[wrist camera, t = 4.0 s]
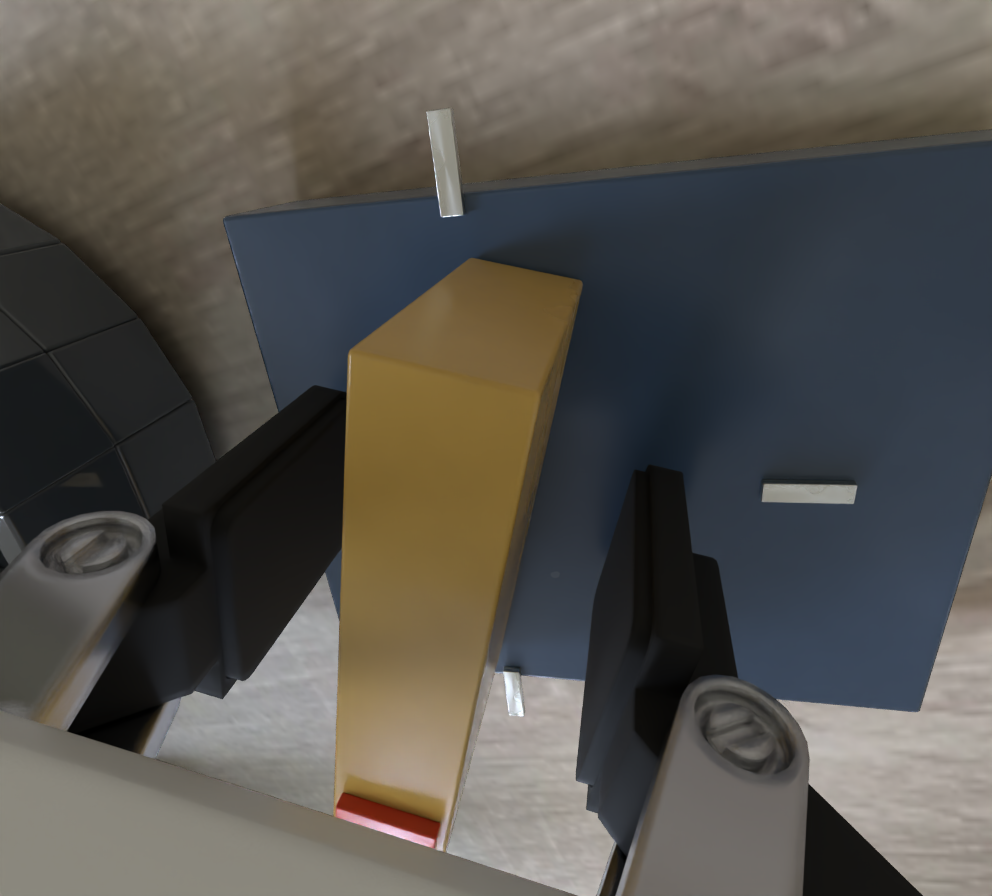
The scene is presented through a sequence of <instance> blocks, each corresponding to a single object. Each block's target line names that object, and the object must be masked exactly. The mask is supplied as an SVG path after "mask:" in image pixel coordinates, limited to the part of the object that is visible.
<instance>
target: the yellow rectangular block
mask: <svg viewBox="0 0 992 896" xmlns="http://www.w3.org/2000/svg"><path fill="white" fill-rule="evenodd" d="M582 287H583V283H582V281H580V280H577V279H572V278H568V277H563V276H558V275H553V274H548V273H543V272H539V271H534V270H529V269H524V268H519V267H514V266H509V265H505V264H500V263H495V262H490V261H485V260H480V259H476V258H469V259H468V260H467V261H465V262H464V263H463V264H462V265H460V266H459V267H458V268H456V269H455V270H454V271H452V272H451V273H450V274H448V275H447V276H446V277H444V278H443V279H442V280H441V281H439V282H438V283H437V284H435V285H434V286H433V287H431V288H430V289H429V290H427V291H426V292H425V293H423V294H422V295H421V296H420V297H418V298H417V299H416V300H414V301H413V302H412V303H410V304H409V305H408V306H406V307H405V308H404V309H402V310H401V311H400V312H399V313H397V314H396V315H395V316H393V317H392V318H391V319H389V320H388V321H387V322H385V323H384V324H383V325H381V326H380V327H379V328H378V329H376V330H375V331H374V332H372V333H371V334H370V335H368V336H367V337H366V338H364V339H363V340H362V341H360V342H359V343H358V344H357V345H355V346H354V347H353V348H351V349H350V351H349V353H348V370H347V402H346V433H345V465H344V497H343V528H342V560H341V592H340V624H339V655H338V687H337V719H336V750H335V782H334V814H333V816H334V817H337V818H340V819H343V820H346V821H349V822H353V823H356V824H359V825H362V826H365V827H368V828H371V829H374V830H377V831H381V832H384V833H387V834H390V835H393V836H396V837H399V838H402V839H405V840H408V841H412V842H415V843H418V844H421V845H424V846H427V847H430V848H433V849H436V850H439V851H442V852H445V853H446V852H447V848H448V845H449V841H450V837H451V834H452V830H453V826H454V822H455V819H456V815H457V811H458V808H459V804H460V800H461V796H462V793H463V789H464V785H465V782H466V778H467V774H468V770H469V767H470V763H471V759H472V756H473V752H474V748H475V744H476V741H477V737H478V733H479V729H480V726H481V722H482V718H483V715H484V711H485V707H486V703H487V700H488V696H489V692H490V689H491V685H492V681H493V677H494V674H495V670H496V666H497V663H498V659H499V655H500V651H501V648H502V643H503V639H504V634H505V630H506V625H507V621H508V617H509V612H510V608H511V603H512V599H513V594H514V590H515V585H516V581H517V576H518V572H519V567H520V563H521V559H522V554H523V550H524V545H525V541H526V536H527V532H528V527H529V523H530V518H531V514H532V510H533V505H534V501H535V496H536V492H537V487H538V483H539V478H540V474H541V469H542V465H543V461H544V456H545V452H546V447H547V443H548V438H549V434H550V429H551V425H552V420H553V416H554V411H555V407H556V403H557V398H558V394H559V389H560V385H561V380H562V376H563V371H564V367H565V362H566V358H567V354H568V349H569V345H570V340H571V336H572V331H573V327H574V322H575V318H576V313H577V309H578V305H579V300H580V296H581V291H582Z"/></svg>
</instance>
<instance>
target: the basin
mask: <svg viewBox="0 0 992 896" xmlns="http://www.w3.org/2000/svg"><path fill="white" fill-rule="evenodd" d="M191 399H192V395H191V394H190V392H189V391H188V389H187V388H186V386H185V385H184V383H183V382H182V380H181V379H180V377H179V376H178V374H177V373H176V371H175V369H174V368H173V366H172V365H171V363H170V362H169V360H168V359H167V357H166V356H165V354H164V353H163V351H162V350H161V348H160V347H159V345H158V344H157V342H156V341H155V339H154V338H153V336H152V335H151V333H150V332H149V330H148V329H147V327H146V326H145V324H144V323H143V321H142V320H141V319H140V318H137V314H136V313H135V312H134V311H133V310H132V309H131V308H130V307H129V306H128V305H127V304H126V303H125V302H124V301H123V300H122V299H121V298H120V297H119V296H118V295H117V294H116V293H115V292H114V291H113V290H112V289H111V288H110V287H109V286H108V285H107V284H106V283H105V282H104V281H103V280H101V279H100V278H99V277H98V276H97V275H96V274H95V273H94V272H93V271H92V270H91V269H90V268H89V267H88V266H87V265H86V264H85V263H84V262H83V261H82V260H81V259H80V258H79V257H78V256H77V255H76V254H75V253H74V252H73V251H72V250H71V249H70V248H69V247H68V246H67V245H65V244H63V243H61V241H60V240H59V239H57V238H56V237H54V236H52V235H51V234H49V233H48V232H46V231H44V230H43V229H41V228H39V227H38V226H36V225H34V224H33V223H31V222H30V221H28V220H26V219H25V218H23V217H21V216H20V215H18V214H16V213H15V212H13V211H12V210H10V209H8V208H7V207H5V206H3V205H2V204H0V570H4V569H5V568H6V567H7V566H8V565H9V564H10V563H11V562H12V561H13V560H14V559H15V558H16V557H17V555H18V554H19V553H20V552H21V551H22V550H23V549H24V548H25V547H26V546H27V545H28V544H29V543H30V542H31V541H32V540H33V539H34V538H35V537H36V536H38V535H39V534H40V533H41V532H43V531H44V530H45V529H47V528H49V527H51V526H53V525H55V524H57V523H58V522H60V521H62V520H65V519H68V518H72V517H75V516H78V515H81V514H86V513H92V512H99V511H123V512H128V513H133V514H137V515H139V516H141V517H143V518H145V519H147V520H148V519H149V518H151V517H152V516H153V515H154V514H156V513H157V512H158V511H159V510H161V509H162V504H163V503H164V502H165V501H167V500H168V499H169V498H170V497H172V496H173V495H174V494H176V493H177V492H178V491H179V490H181V489H182V488H183V487H184V486H186V485H187V484H188V483H190V482H191V481H192V480H193V479H195V478H196V477H197V476H198V475H200V474H201V473H202V472H204V471H205V470H206V469H207V468H209V467H210V466H211V465H212V464H214V463H215V462H216V460H215V457H214V454H213V451H212V449H211V446H210V443H209V440H208V437H207V435H206V432H205V429H204V426H203V423H202V421H201V418H200V415H199V412H198V409H197V407H196V404H195V402H194V401H193V400H191Z"/></svg>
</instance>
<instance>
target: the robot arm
mask: <svg viewBox="0 0 992 896" xmlns="http://www.w3.org/2000/svg"><path fill="white" fill-rule="evenodd" d="M346 402H347V393H346V392H343V391H339V390H335V389H330V388H326V387H322V386H318V385H314V386H312V387H310V388H309V389H308V390H307V391H305V392H304V393H303V394H301V395H300V396H299V397H298V398H296V399H295V400H294V401H293V402H291V403H290V404H289V405H287V406H286V407H285V408H284V409H282V410H281V411H280V412H279V413H277V414H276V415H275V416H273V417H272V418H271V419H270V420H268V421H267V422H266V423H265V424H263V425H262V426H261V427H259V428H258V429H257V430H256V431H254V432H253V433H252V434H251V435H249V436H248V437H247V438H246V439H244V440H243V441H242V442H240V443H239V444H238V445H237V446H235V447H234V448H233V449H232V450H230V451H229V452H228V453H226V454H225V455H224V456H223V457H221V458H220V459H219V460H218V461H216V462H215V463H214V464H212V465H211V466H210V467H209V468H207V469H206V470H205V471H204V472H202V473H201V474H200V475H198V476H197V477H196V478H195V479H193V480H192V481H191V482H190V483H188V484H187V485H186V486H184V487H183V488H182V489H181V490H179V491H178V492H177V493H176V494H174V495H173V496H172V497H170V498H169V499H168V500H167V501H165V502H164V503H163V504H162V509H161V510H159V511H158V512H157V513H156V514H154V515H153V516H152V517H151V518H149V519H148V520H147V519H145V518H143V517H141V516H139V515H137V514H133V513H128V512H123V511H99V512H92V513H86V514H81V515H78V516H75V517H72V518H68V519H65V520H62V521H60V522H58V523H57V524H55V525H53V526H51V527H49V528H47V529H45V530H44V531H43V532H41V533H40V534H39V535H38V536H36V537H35V538H34V539H33V540H32V541H31V542H30V543H29V544H28V545H27V546H26V547H25V548H24V549H23V550H22V551H21V552H20V553H19V554H18V555H17V557H16V558H15V559H14V560H13V561H12V562H11V563H10V564H9V565H8V566H7V567H6V568H5V569H4V570H0V896H577V895H574V894H571V893H568V892H565V891H562V890H559V889H556V888H552V887H549V886H546V885H543V884H540V883H537V882H534V881H531V880H528V879H525V878H522V877H519V876H516V875H513V874H510V873H506V872H503V871H500V870H497V869H494V868H491V867H488V866H485V865H482V864H479V863H476V862H473V861H470V860H467V859H464V858H461V857H457V856H454V855H451V854H448V853H445V852H442V851H439V850H436V849H433V848H430V847H427V846H424V845H421V844H418V843H415V842H412V841H408V840H405V839H402V838H399V837H396V836H393V835H390V834H387V833H384V832H381V831H377V830H374V829H371V828H368V827H365V826H362V825H359V824H356V823H353V822H349V821H346V820H343V819H340V818H337V817H334V816H331V815H328V814H325V813H321V812H318V811H315V810H312V809H309V808H306V807H303V806H300V805H297V804H293V803H290V802H287V801H284V800H281V799H278V798H275V797H272V796H269V795H265V794H262V793H259V792H256V791H253V790H250V789H247V788H243V787H240V786H237V785H234V784H231V783H228V782H225V781H222V780H218V779H215V778H212V777H209V776H206V775H203V774H200V773H196V772H193V771H190V770H187V769H184V768H181V767H178V766H175V765H171V764H168V763H165V762H162V761H159V760H156V757H157V755H158V752H159V750H160V748H161V746H162V744H163V741H164V739H165V737H166V735H167V732H168V730H169V728H170V726H171V724H172V721H173V719H174V717H175V715H176V712H177V710H178V708H179V705H180V701H181V697H183V696H186V695H189V694H192V693H193V691H197V692H200V693H204V694H207V695H210V696H214V697H217V698H220V699H223V698H224V697H225V695H226V694H227V693H228V691H229V690H230V689H231V687H232V686H233V685H234V683H235V682H236V680H237V679H238V680H241V681H244V680H246V679H248V678H249V677H250V676H251V675H252V673H253V672H254V671H255V669H256V668H257V666H258V665H259V663H260V662H261V661H262V659H263V658H264V656H265V655H266V654H267V652H268V651H269V649H270V648H271V647H272V645H273V644H274V642H275V641H276V640H277V638H278V637H279V635H280V634H281V633H282V631H283V630H284V628H285V627H286V626H287V624H288V623H289V621H290V620H291V619H292V617H293V616H294V614H295V613H296V612H297V610H298V609H299V607H300V606H301V605H302V603H303V602H304V600H305V599H306V597H307V596H308V595H309V593H310V592H311V590H312V589H313V588H314V586H315V585H316V583H317V582H318V581H319V579H320V578H321V576H322V575H323V574H324V572H325V571H326V569H327V568H328V567H329V565H330V564H331V562H332V561H333V560H334V558H335V557H336V555H337V554H338V553H339V551H340V550H341V548H342V528H343V497H344V465H345V433H346ZM809 761H810V759H809V752H808V745H807V741H806V739H805V737H804V734H803V732H802V730H801V728H800V726H799V724H798V723H797V722H796V720H795V719H794V718H793V717H792V715H791V714H790V713H789V711H788V710H787V709H786V708H785V707H784V706H783V705H782V704H781V703H779V702H778V701H777V700H776V699H775V698H774V697H773V696H771V695H770V694H769V693H767V692H766V691H764V690H762V689H761V688H759V687H757V686H755V685H754V684H752V683H750V682H747V681H744V680H741V679H739V678H738V674H737V668H736V662H735V657H734V651H733V645H732V640H731V634H730V628H729V623H728V617H727V611H726V606H725V600H724V594H723V589H722V583H721V577H720V572H719V566H718V563H717V560H716V559H714V558H712V557H708V556H704V555H700V554H696V553H692V545H691V537H690V528H689V520H688V512H687V503H686V495H685V487H684V478H683V473H682V472H680V471H676V470H672V469H667V468H663V467H659V466H655V465H651V464H649V465H648V467H647V469H646V471H645V472H644V471H640V470H636V469H635V470H634V472H633V474H632V477H631V480H630V484H629V487H628V490H627V493H626V496H625V499H624V503H623V506H622V509H621V512H620V515H619V519H618V522H617V525H616V528H615V531H614V534H613V538H612V541H611V544H610V547H609V550H608V553H607V557H606V560H605V563H604V566H603V569H602V573H601V576H600V579H599V582H598V585H597V589H596V593H595V597H594V602H593V609H592V619H591V629H590V639H589V649H588V658H587V668H586V678H585V688H584V698H583V708H582V718H581V728H580V737H579V747H578V757H577V767H576V781H578V782H582V783H585V784H588V794H587V806H586V810H589V811H592V812H595V813H598V818H599V820H600V821H601V822H602V824H603V825H604V827H605V828H606V829H607V831H608V832H609V834H610V835H611V836H612V838H613V839H614V844H613V847H612V850H611V853H610V856H609V859H608V862H607V865H606V868H605V871H604V874H603V877H602V880H601V883H600V886H599V889H598V892H597V895H596V896H923V895H922V894H921V893H920V892H919V891H918V890H917V889H916V888H915V887H913V886H912V885H911V884H910V883H909V882H908V881H907V880H906V879H905V878H904V877H903V876H902V875H901V874H900V873H899V872H898V871H897V870H896V869H895V868H894V867H893V866H892V865H891V864H890V863H889V862H888V861H887V860H886V859H885V858H884V857H883V856H882V855H881V854H880V853H879V852H878V851H877V850H876V849H875V848H874V847H873V846H872V845H871V844H870V843H869V842H868V841H866V840H865V839H864V838H863V837H862V836H861V835H860V834H859V833H858V832H857V831H856V830H855V829H854V828H853V827H852V826H851V825H850V824H849V823H848V822H847V821H846V820H845V819H844V818H843V817H842V816H841V815H840V814H839V813H838V812H837V811H836V810H835V809H834V808H833V807H832V806H831V805H830V804H829V803H828V802H827V801H826V800H825V799H824V798H823V797H822V796H821V795H819V794H818V793H817V792H816V791H815V790H814V789H813V788H812V787H811V786H810V785H809V784H808V781H809Z"/></svg>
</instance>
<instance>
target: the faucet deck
mask: <svg viewBox="0 0 992 896" xmlns="http://www.w3.org/2000/svg"><path fill="white" fill-rule="evenodd" d="M426 114H427V121H428V128H429V136H430V143H431V150H432V158H433V165H434V172H435V179H436V187H428V188H418V189H408V190H399V191H389V192H379V193H370V194H360V195H350V196H341V197H331V198H321V199H311V200H302V201H294V202H290V203H285V204H280V205H276V206H271V207H266V208H262V209H257V210H252V211H248V212H243V213H238V214H234V215H229V216H226V217H225V218H224V219H223V223H224V227H225V230H226V233H227V237H228V240H229V244H230V247H231V251H232V254H233V257H234V261H235V264H236V268H237V271H238V275H239V278H240V282H241V285H242V288H243V292H244V295H245V299H246V302H247V306H248V309H249V312H250V316H251V319H252V323H253V326H254V330H255V333H256V336H257V340H258V343H259V347H260V350H261V354H262V357H263V360H264V364H265V367H266V371H267V374H268V378H269V381H270V384H271V388H272V391H273V395H274V398H275V402H276V405H277V409H278V412H280V411H281V410H282V409H284V408H285V407H286V406H287V405H289V404H290V403H291V402H293V401H294V400H295V399H296V398H298V397H299V396H300V395H301V394H303V393H304V392H305V391H307V390H308V389H309V388H310V387H312V386H314V385H318V386H322V387H326V388H330V389H335V390H339V391H343V392H346V393H347V370H348V353H349V351H350V349H351V348H353V347H354V346H355V345H357V344H358V343H359V342H360V341H362V340H363V339H364V338H366V337H367V336H368V335H370V334H371V333H372V332H374V331H375V330H376V329H378V328H379V327H380V326H381V325H383V324H384V323H385V322H387V321H388V320H389V319H391V318H392V317H393V316H395V315H396V314H397V313H399V312H400V311H401V310H402V309H404V308H405V307H406V306H408V305H409V304H410V303H412V302H413V301H414V300H416V299H417V298H418V297H420V296H421V295H422V294H423V293H425V292H426V291H427V290H429V289H430V288H431V287H433V286H434V285H435V284H437V283H438V282H439V281H441V280H442V279H443V278H444V277H446V276H447V275H448V274H450V273H451V272H452V271H454V270H455V269H456V268H458V267H459V266H460V265H462V264H463V263H464V262H465V261H467V260H468V259H469V258H476V259H480V260H485V261H490V262H495V263H500V264H505V265H509V266H514V267H519V268H524V269H529V270H534V271H539V272H543V273H548V274H553V275H558V276H563V277H568V278H572V279H577V280H580V281H582V283H583V287H582V291H581V296H580V300H579V305H578V309H577V313H576V318H575V322H574V327H573V331H572V336H571V340H570V345H569V349H568V354H567V358H566V362H565V367H564V371H563V376H562V380H561V385H560V389H559V394H558V398H557V403H556V407H555V411H554V416H553V420H552V425H551V429H550V434H549V438H548V443H547V447H546V452H545V456H544V461H543V465H542V469H541V474H540V478H539V483H538V487H537V492H536V496H535V501H534V505H533V510H532V514H531V518H530V523H529V527H528V532H527V536H526V541H525V545H524V550H523V554H522V559H521V563H520V567H519V572H518V576H517V581H516V585H515V590H514V594H513V599H512V603H511V608H510V612H509V617H508V621H507V625H506V630H505V634H504V639H503V643H502V648H501V651H500V655H499V659H498V663H497V666H496V670H495V673H502V674H503V675H504V682H505V689H506V696H507V704H508V711H509V715H514V716H523V717H524V715H525V706H524V697H523V689H522V680H521V675H523V676H534V677H545V678H555V679H566V680H577V681H585V678H586V668H587V658H588V649H589V639H590V629H591V619H592V609H593V602H594V597H595V593H596V589H597V585H598V582H599V579H600V576H601V573H602V569H603V566H604V563H605V560H606V557H607V553H608V550H609V547H610V544H611V541H612V538H613V534H614V531H615V528H616V525H617V522H618V519H619V515H620V512H621V509H622V506H623V503H624V499H625V496H626V493H627V490H628V487H629V484H630V480H631V477H632V474H633V472H634V470H635V469H636V470H640V471H644V472H645V471H646V469H647V467H648V465H649V464H651V465H655V466H659V467H663V468H667V469H672V470H676V471H680V472H682V473H683V478H684V487H685V495H686V503H687V512H688V520H689V528H690V537H691V545H692V553H696V554H700V555H704V556H708V557H712V558H714V559H716V560H717V563H718V566H719V572H720V577H721V583H722V589H723V594H724V600H725V606H726V611H727V617H728V623H729V628H730V634H731V640H732V645H733V651H734V657H735V662H736V668H737V674H738V678H739V679H741V680H744V681H747V682H750V683H752V684H754V685H755V686H757V687H759V688H761V689H762V690H764V691H766V692H767V693H769V694H770V695H771V696H773V697H774V698H775V699H780V700H791V701H801V702H812V703H823V704H833V705H844V706H855V707H866V708H876V709H887V710H898V711H908V712H918V711H920V708H921V705H922V701H923V698H924V695H925V692H926V688H927V685H928V682H929V679H930V675H931V672H932V669H933V665H934V662H935V659H936V656H937V652H938V649H939V646H940V643H941V639H942V636H943V633H944V630H945V626H946V623H947V620H948V616H949V613H950V610H951V607H952V603H953V600H954V597H955V594H956V590H957V587H958V584H959V580H960V577H961V574H962V571H963V567H964V564H965V561H966V558H967V554H968V551H969V548H970V544H971V541H972V538H973V535H974V531H975V528H976V525H977V522H978V518H979V515H980V512H981V509H982V505H983V502H984V499H985V495H986V492H987V489H988V486H989V482H990V479H991V476H992V129H990V130H980V131H971V132H961V133H951V134H941V135H932V136H922V137H912V138H903V139H893V140H883V141H874V142H864V143H854V144H845V145H835V146H825V147H815V148H806V149H796V150H786V151H777V152H767V153H757V154H748V155H738V156H728V157H719V158H709V159H699V160H689V161H680V162H670V163H660V164H651V165H641V166H631V167H622V168H612V169H602V170H593V171H583V172H573V173H563V174H554V175H544V176H534V177H525V178H515V179H505V180H496V181H486V182H476V183H467V184H462V178H461V170H460V161H459V153H458V144H457V136H456V128H455V119H454V111H453V108H444V109H437V110H429V111H427V112H426ZM341 560H342V548H341V550H340V551H339V553H338V554H337V555H336V557H335V558H334V560H333V561H332V562H331V564H330V565H329V567H328V568H327V569H326V571H325V573H326V577H327V580H328V584H329V587H330V590H331V594H332V597H333V601H334V604H335V608H336V611H337V614H338V618H339V621H340V592H341Z"/></svg>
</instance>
